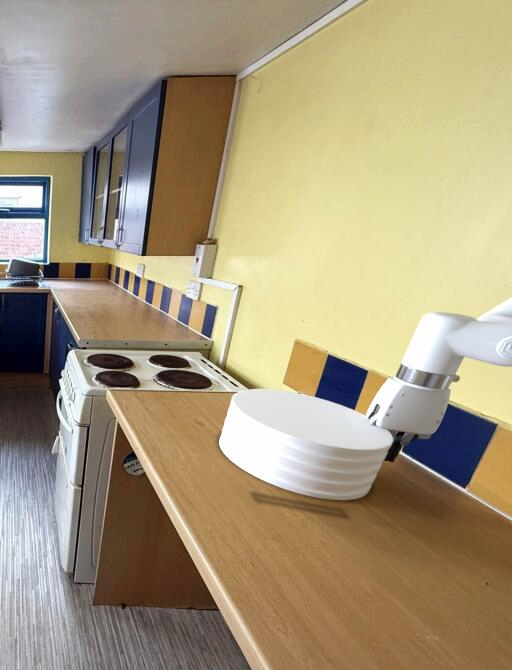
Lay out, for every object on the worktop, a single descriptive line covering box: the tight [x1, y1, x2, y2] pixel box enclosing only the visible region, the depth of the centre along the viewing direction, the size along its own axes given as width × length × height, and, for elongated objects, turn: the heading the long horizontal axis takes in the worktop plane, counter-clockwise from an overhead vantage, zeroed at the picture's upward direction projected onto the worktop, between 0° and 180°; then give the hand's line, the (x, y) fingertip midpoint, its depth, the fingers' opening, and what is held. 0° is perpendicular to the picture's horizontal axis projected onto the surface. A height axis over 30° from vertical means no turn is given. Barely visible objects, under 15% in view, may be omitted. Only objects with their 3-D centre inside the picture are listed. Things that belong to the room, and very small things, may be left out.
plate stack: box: [219, 388, 393, 501], centre depth 88 cm, size 28×28×12 cm
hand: (384, 458), depth 85 cm, fingers closed
